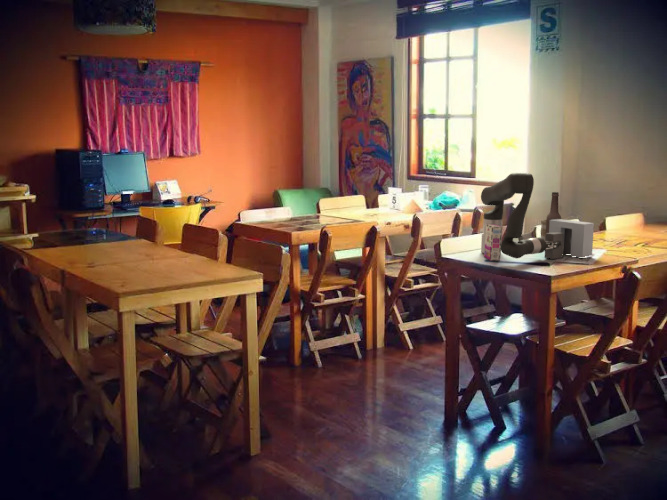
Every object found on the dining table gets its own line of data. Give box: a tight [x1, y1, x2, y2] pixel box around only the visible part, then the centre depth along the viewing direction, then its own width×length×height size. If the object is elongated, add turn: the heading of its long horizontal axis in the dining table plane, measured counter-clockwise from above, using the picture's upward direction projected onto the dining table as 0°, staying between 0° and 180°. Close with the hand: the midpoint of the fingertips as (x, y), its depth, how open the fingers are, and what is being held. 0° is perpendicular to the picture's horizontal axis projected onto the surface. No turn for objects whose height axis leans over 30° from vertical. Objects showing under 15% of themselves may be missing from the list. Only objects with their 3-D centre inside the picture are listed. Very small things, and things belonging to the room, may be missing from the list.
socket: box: [549, 218, 595, 257], centre depth 386 cm, size 8×20×17 cm, turn 39°
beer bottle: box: [545, 191, 562, 240], centre depth 402 cm, size 8×8×30 cm
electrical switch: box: [517, 232, 533, 241], centre depth 400 cm, size 9×5×9 cm, turn 141°
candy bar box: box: [483, 224, 503, 262], centre depth 374 cm, size 11×5×16 cm, turn 5°
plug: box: [544, 232, 564, 260], centre depth 378 cm, size 9×4×12 cm, turn 129°
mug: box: [540, 219, 546, 240], centre depth 427 cm, size 16×11×12 cm
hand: (555, 242), depth 379 cm, fingers closed on plug, 4 cm apart
